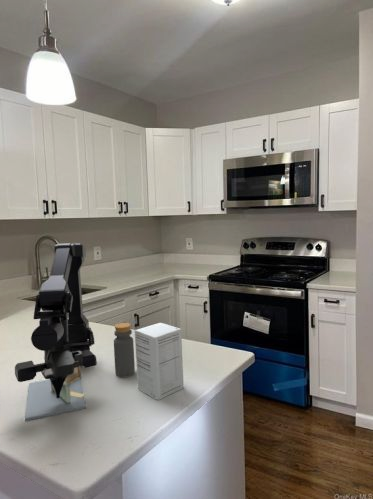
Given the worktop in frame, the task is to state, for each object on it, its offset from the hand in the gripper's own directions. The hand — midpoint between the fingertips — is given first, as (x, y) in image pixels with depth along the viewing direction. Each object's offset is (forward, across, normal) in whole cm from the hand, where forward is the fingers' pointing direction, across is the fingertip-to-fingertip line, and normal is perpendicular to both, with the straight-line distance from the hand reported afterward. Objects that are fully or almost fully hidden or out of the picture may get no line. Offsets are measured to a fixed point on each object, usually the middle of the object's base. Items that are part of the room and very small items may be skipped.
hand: (57, 397), depth 91 cm
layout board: (+2, +1, +6) cm, 7 cm away
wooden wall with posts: (+2, +5, +11) cm, 12 cm away
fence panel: (+1, +2, +3) cm, 3 cm away
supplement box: (+2, +26, -7) cm, 27 cm away
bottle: (+2, +22, +8) cm, 23 cm away
